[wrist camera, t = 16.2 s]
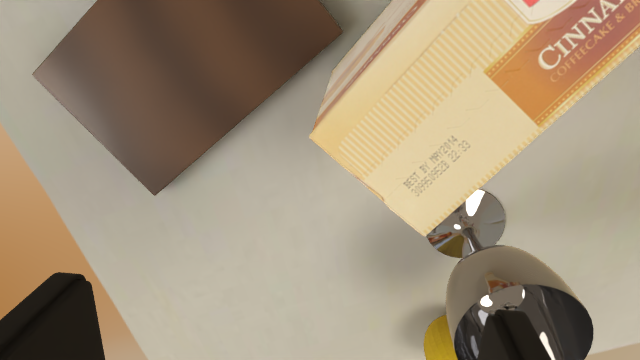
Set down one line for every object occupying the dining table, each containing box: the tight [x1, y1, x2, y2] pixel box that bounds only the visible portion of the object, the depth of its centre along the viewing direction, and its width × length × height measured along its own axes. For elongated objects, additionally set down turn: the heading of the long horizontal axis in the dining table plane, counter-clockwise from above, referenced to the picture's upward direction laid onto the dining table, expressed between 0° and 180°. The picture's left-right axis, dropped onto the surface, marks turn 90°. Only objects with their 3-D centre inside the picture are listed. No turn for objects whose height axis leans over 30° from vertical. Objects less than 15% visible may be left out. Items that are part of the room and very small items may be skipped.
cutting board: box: [32, 0, 343, 196], centre depth 35 cm, size 22×14×2 cm, turn 130°
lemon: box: [424, 315, 458, 360], centre depth 40 cm, size 6×6×8 cm
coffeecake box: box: [309, 0, 640, 236], centre depth 25 cm, size 15×7×20 cm, turn 139°
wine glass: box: [427, 189, 593, 360], centre depth 33 cm, size 8×8×15 cm
